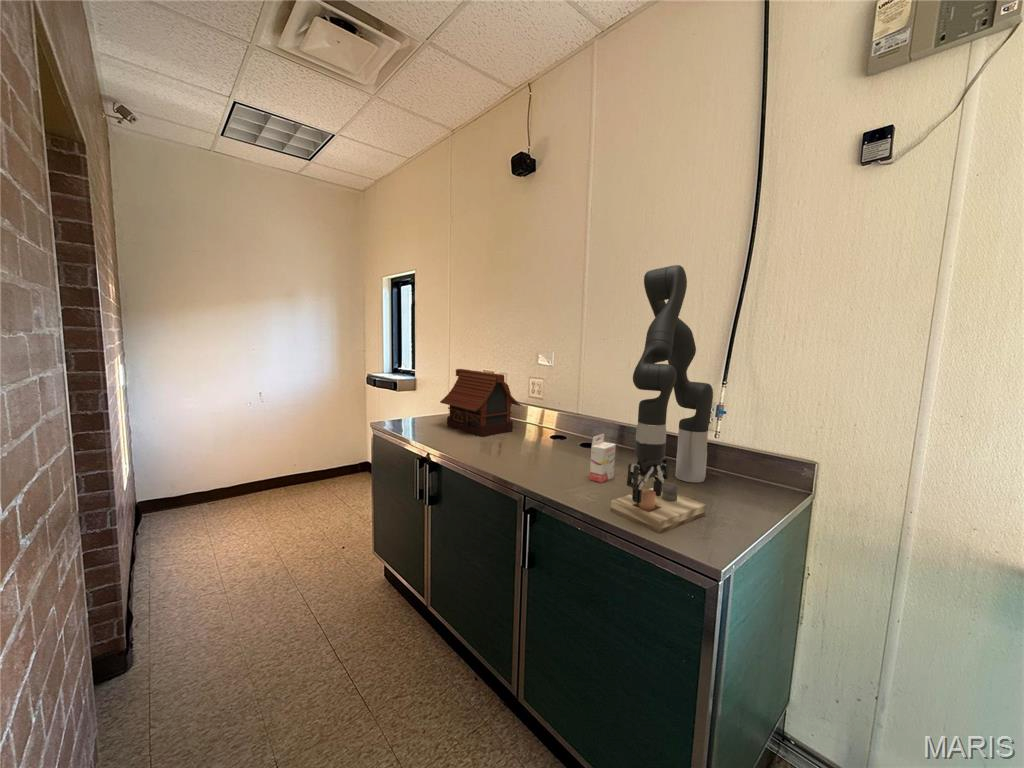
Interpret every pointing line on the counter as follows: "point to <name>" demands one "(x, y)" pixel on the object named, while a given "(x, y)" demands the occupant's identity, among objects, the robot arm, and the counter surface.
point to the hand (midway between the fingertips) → (647, 498)
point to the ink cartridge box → (602, 459)
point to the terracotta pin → (647, 500)
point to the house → (480, 403)
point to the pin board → (661, 509)
